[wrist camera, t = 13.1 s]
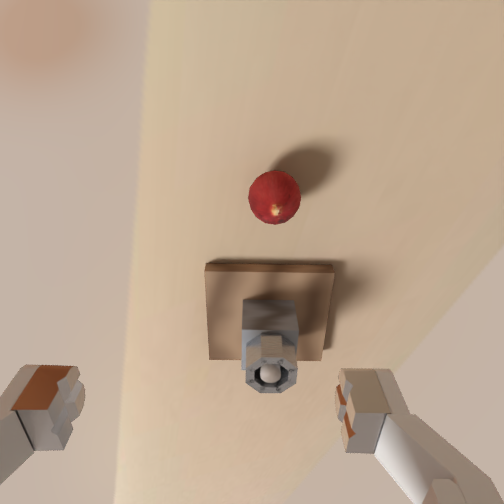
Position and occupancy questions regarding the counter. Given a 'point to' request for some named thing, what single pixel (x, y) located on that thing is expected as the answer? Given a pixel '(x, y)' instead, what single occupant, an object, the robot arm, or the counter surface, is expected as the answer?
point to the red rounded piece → (274, 197)
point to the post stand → (267, 309)
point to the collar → (270, 361)
